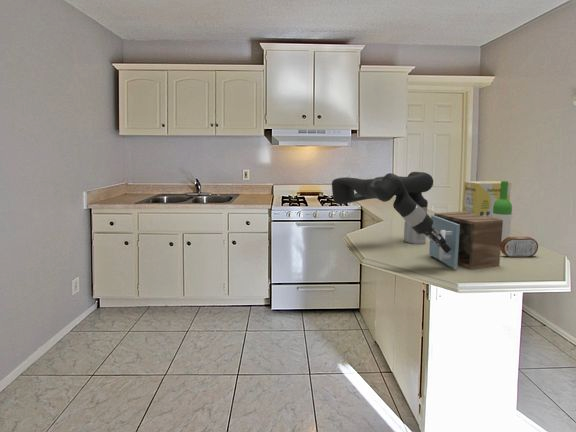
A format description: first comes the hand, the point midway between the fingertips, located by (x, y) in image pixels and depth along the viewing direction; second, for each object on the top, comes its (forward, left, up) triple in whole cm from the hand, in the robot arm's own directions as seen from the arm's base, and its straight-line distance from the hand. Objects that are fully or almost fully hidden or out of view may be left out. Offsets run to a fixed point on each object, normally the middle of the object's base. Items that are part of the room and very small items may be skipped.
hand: (447, 250), depth 170 cm
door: (-6, +4, -6) cm, 10 cm away
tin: (+11, +39, -7) cm, 41 cm away
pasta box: (-15, +63, -7) cm, 65 cm away
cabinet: (-1, +16, -7) cm, 17 cm away
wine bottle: (-2, +51, -7) cm, 52 cm away
